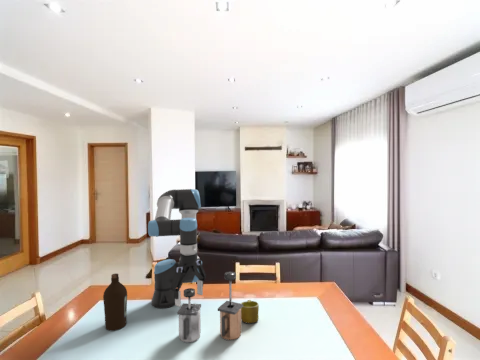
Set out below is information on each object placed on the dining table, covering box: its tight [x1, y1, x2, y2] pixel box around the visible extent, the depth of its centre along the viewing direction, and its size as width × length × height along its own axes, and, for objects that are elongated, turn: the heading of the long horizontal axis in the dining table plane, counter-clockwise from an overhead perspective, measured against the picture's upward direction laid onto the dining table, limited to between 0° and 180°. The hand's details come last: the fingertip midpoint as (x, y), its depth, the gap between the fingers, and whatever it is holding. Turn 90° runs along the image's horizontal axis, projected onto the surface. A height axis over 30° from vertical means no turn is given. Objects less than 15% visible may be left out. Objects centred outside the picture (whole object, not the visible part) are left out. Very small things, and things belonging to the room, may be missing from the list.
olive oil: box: [102, 273, 128, 331], centre depth 139 cm, size 11×11×25 cm
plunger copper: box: [224, 271, 237, 308], centre depth 131 cm, size 6×6×18 cm
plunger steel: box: [183, 287, 196, 310], centre depth 130 cm, size 6×6×18 cm
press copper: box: [217, 300, 243, 341], centre depth 130 cm, size 12×9×13 cm
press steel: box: [176, 303, 202, 344], centre depth 128 cm, size 12×9×13 cm
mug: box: [240, 299, 260, 324], centre depth 145 cm, size 12×10×10 cm
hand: (189, 299), depth 129 cm, fingers open, 13 cm apart
